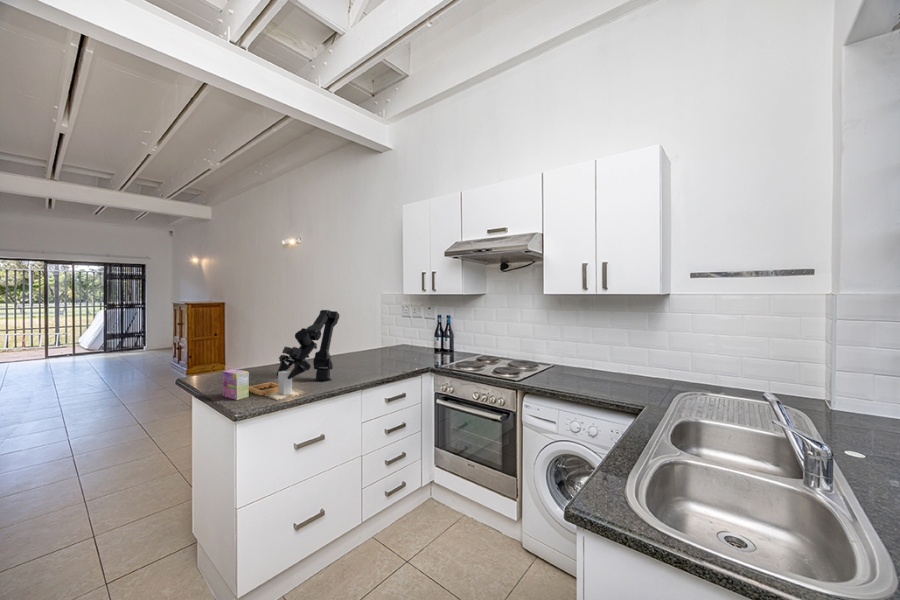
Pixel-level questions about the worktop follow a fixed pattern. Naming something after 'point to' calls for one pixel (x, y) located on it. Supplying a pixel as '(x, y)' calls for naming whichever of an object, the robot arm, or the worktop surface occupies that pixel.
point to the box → (236, 384)
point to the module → (284, 382)
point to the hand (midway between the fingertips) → (282, 377)
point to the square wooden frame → (261, 392)
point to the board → (279, 396)
